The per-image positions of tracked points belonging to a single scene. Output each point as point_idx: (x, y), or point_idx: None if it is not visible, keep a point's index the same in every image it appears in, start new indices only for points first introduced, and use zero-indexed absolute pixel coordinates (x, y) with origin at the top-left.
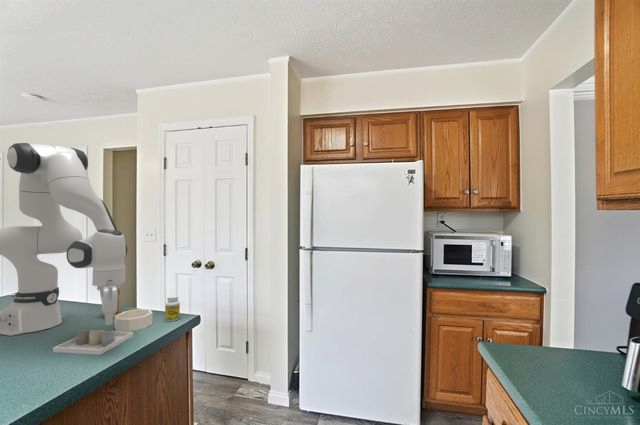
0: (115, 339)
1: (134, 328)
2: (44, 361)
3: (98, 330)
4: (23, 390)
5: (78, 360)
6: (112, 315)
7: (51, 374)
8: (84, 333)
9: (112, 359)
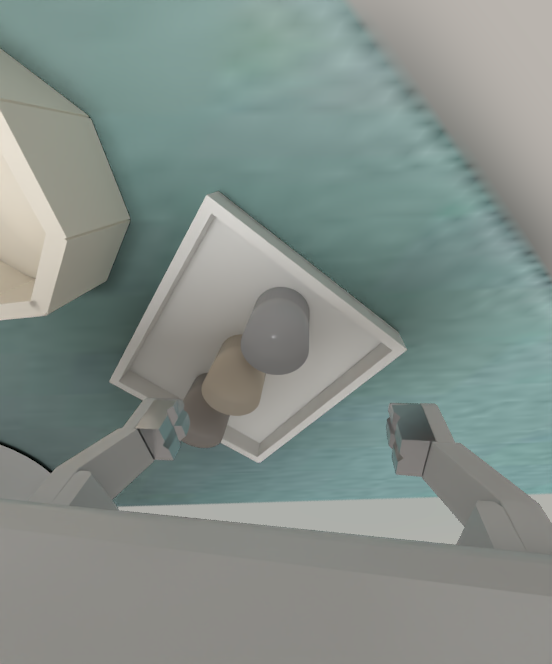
0: (230, 284)
1: (102, 186)
2: (313, 454)
3: (219, 386)
4: None
5: (376, 391)
6: (505, 484)
7: None
8: (222, 424)
9: (480, 288)
